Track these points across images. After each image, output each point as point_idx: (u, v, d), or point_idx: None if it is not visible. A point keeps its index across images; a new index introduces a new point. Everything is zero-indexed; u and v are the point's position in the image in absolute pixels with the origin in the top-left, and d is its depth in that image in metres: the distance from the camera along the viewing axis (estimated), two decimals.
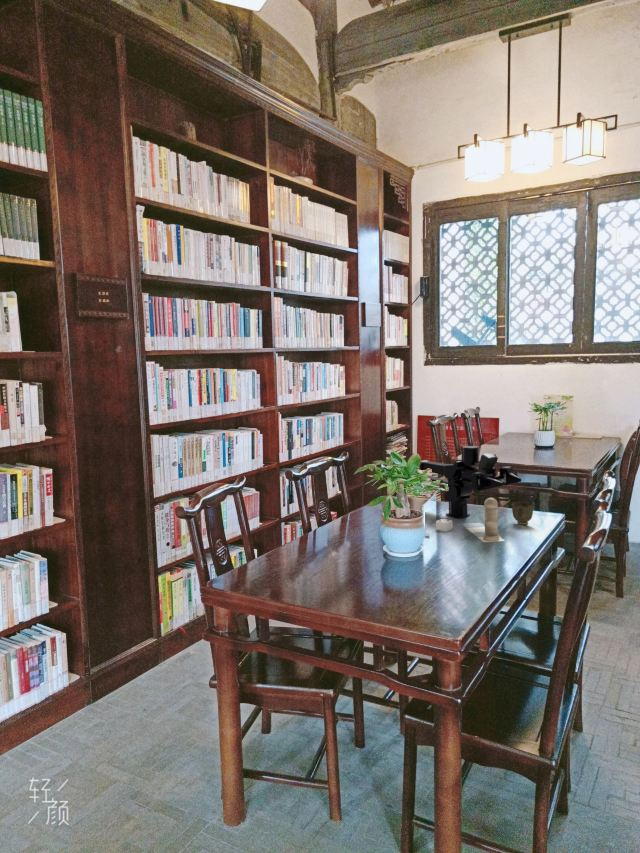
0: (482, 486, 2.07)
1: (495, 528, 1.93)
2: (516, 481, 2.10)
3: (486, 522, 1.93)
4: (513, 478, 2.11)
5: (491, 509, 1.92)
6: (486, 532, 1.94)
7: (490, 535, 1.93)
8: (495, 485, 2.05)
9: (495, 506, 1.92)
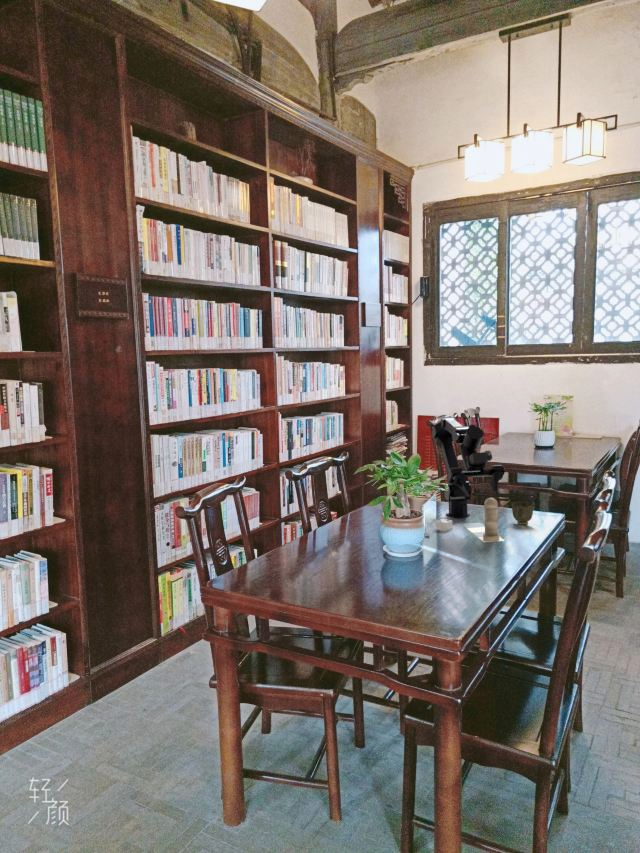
0: (455, 482, 2.06)
1: (495, 528, 1.93)
2: (493, 490, 2.03)
3: (486, 522, 1.93)
4: (493, 485, 2.03)
5: (491, 509, 1.92)
6: (486, 532, 1.94)
7: (490, 535, 1.93)
8: (464, 491, 2.03)
9: (495, 506, 1.92)
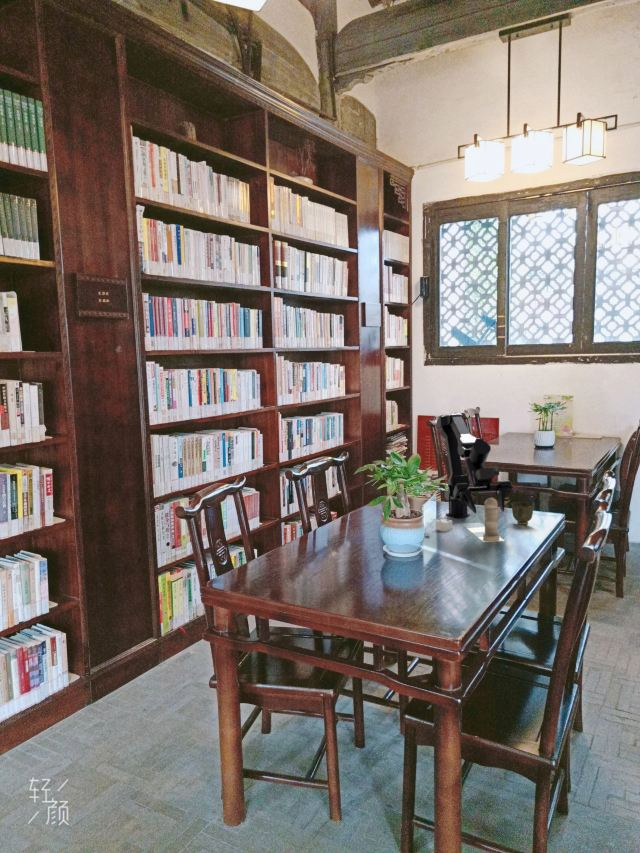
0: (461, 498, 2.00)
1: (495, 528, 1.93)
2: (500, 507, 1.97)
3: (486, 522, 1.93)
4: (500, 502, 1.98)
5: (491, 509, 1.92)
6: (486, 532, 1.94)
7: (490, 535, 1.93)
8: (470, 507, 1.97)
9: (495, 506, 1.92)
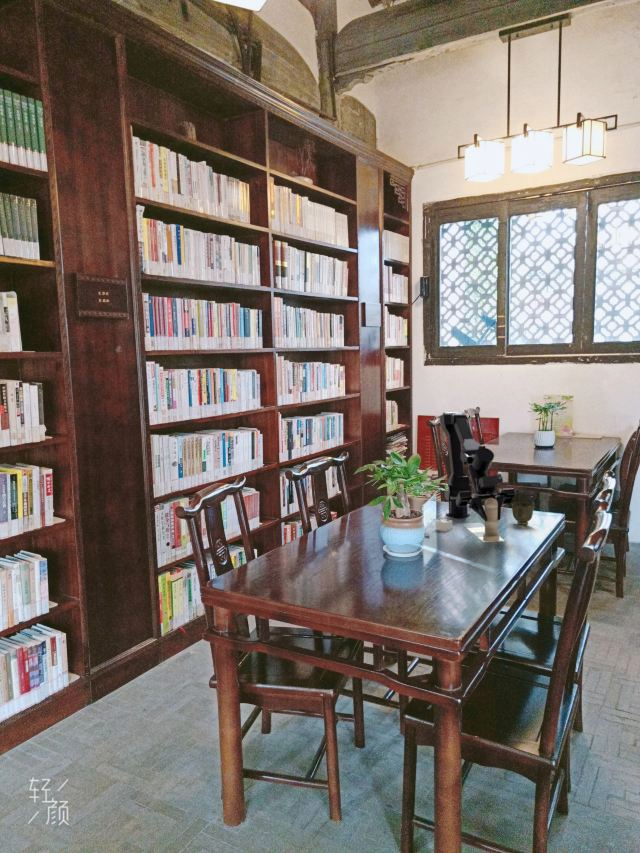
0: (471, 506, 1.98)
1: (495, 528, 1.93)
2: None
3: (486, 522, 1.93)
4: None
5: (491, 509, 1.92)
6: (486, 532, 1.94)
7: (490, 535, 1.93)
8: (481, 515, 1.95)
9: (495, 506, 1.92)
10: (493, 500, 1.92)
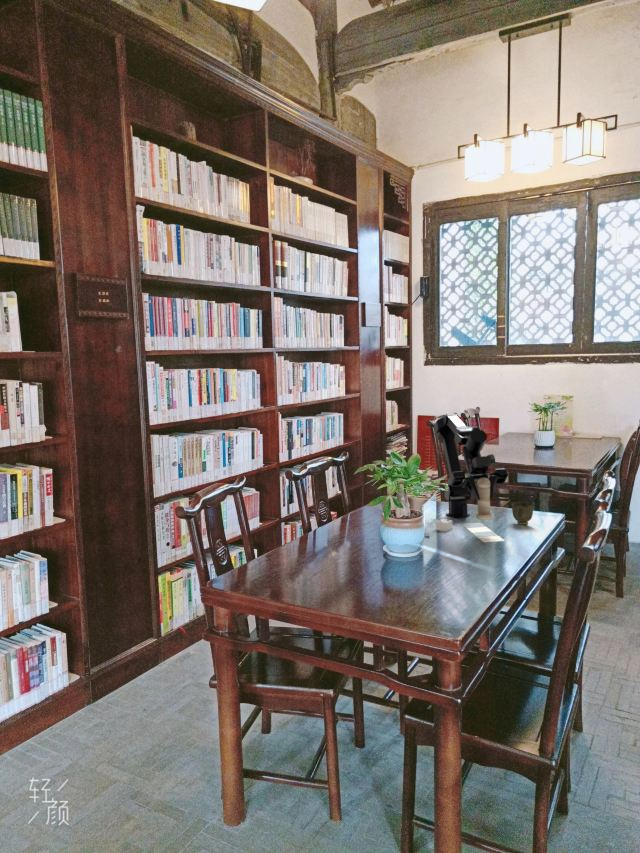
0: (465, 485, 2.03)
1: (487, 507, 1.99)
2: None
3: (479, 501, 1.99)
4: None
5: (484, 488, 1.98)
6: (479, 511, 2.00)
7: (482, 514, 1.99)
8: (473, 494, 2.00)
9: (488, 485, 1.98)
10: (486, 480, 1.98)
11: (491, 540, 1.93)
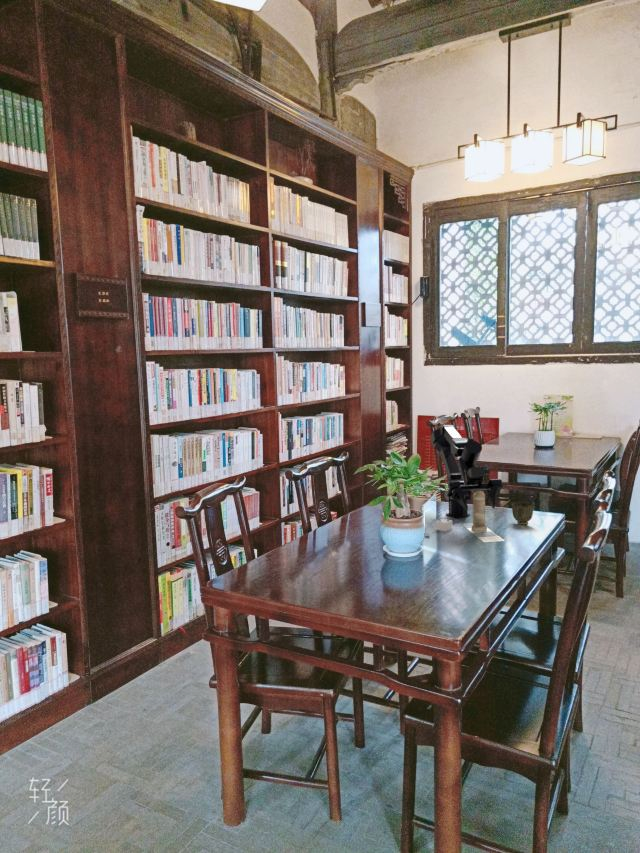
0: (453, 496, 2.08)
1: (483, 519, 2.04)
2: (491, 504, 2.06)
3: (474, 513, 2.04)
4: (491, 499, 2.06)
5: (479, 501, 2.03)
6: (474, 523, 2.05)
7: (478, 526, 2.04)
8: (462, 504, 2.05)
9: (483, 498, 2.03)
10: (481, 493, 2.03)
11: (491, 540, 1.93)
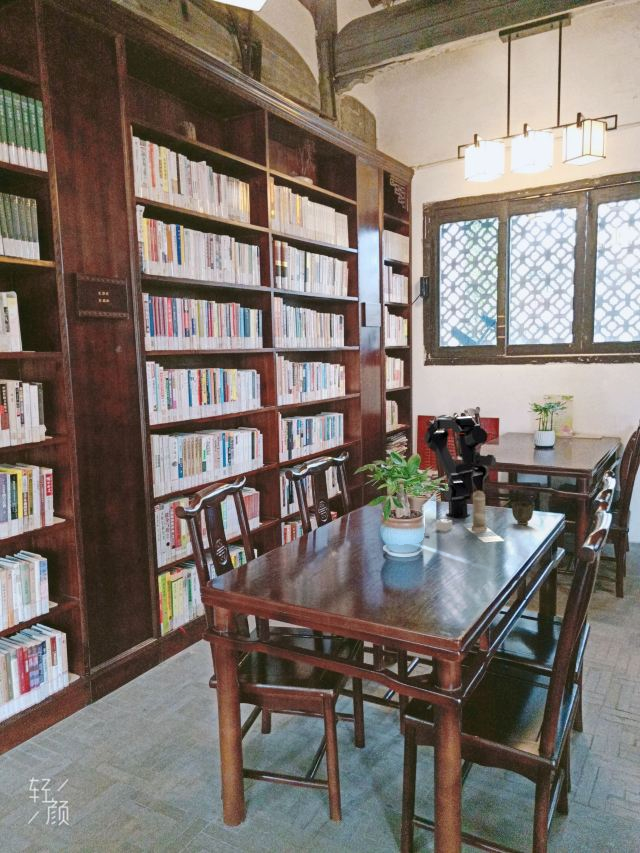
0: (461, 474, 2.10)
1: (483, 519, 2.04)
2: (478, 489, 2.18)
3: (474, 513, 2.04)
4: (480, 485, 2.18)
5: (479, 501, 2.03)
6: (474, 523, 2.05)
7: (478, 526, 2.04)
8: (467, 486, 2.10)
9: (483, 498, 2.03)
10: (481, 493, 2.03)
11: (491, 540, 1.93)
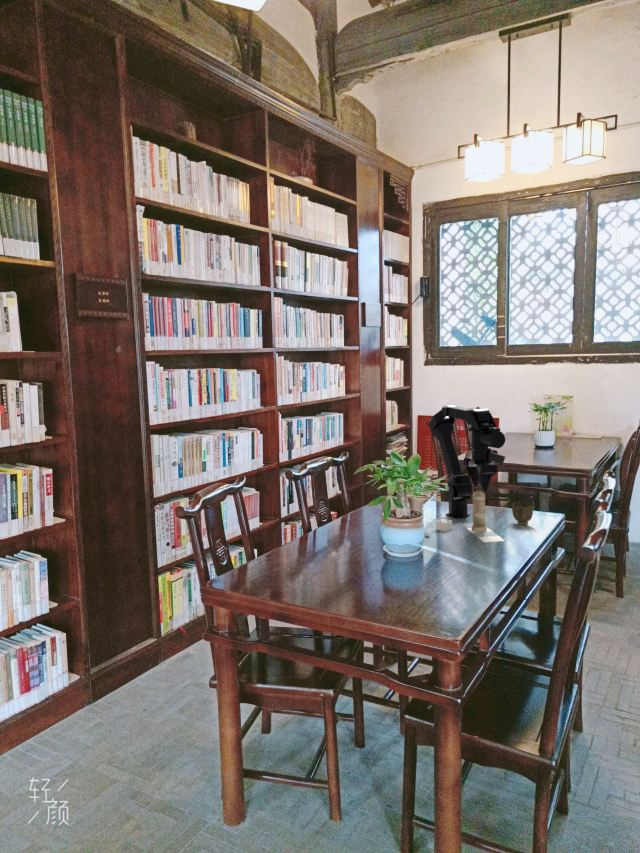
0: None
1: (483, 519, 2.04)
2: (474, 481, 2.18)
3: (474, 513, 2.04)
4: (476, 477, 2.18)
5: (479, 501, 2.03)
6: (474, 523, 2.05)
7: (478, 526, 2.04)
8: (484, 485, 2.08)
9: (483, 498, 2.03)
10: (481, 493, 2.03)
11: (491, 540, 1.93)
